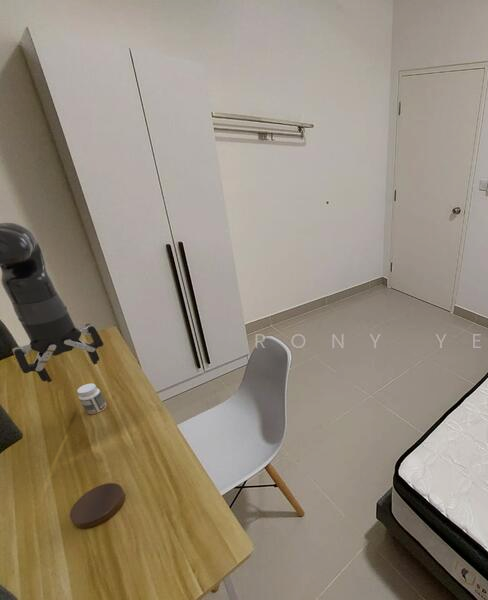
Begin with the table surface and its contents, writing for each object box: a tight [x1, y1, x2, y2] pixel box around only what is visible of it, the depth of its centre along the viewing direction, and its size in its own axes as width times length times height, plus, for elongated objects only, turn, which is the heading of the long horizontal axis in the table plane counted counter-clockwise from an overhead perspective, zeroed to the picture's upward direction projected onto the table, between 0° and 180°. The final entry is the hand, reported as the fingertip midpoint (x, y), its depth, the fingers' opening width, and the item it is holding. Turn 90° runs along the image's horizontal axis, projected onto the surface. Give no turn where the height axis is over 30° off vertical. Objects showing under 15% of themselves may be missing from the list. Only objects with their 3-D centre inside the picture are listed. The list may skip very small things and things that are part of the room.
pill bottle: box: [76, 383, 108, 415], centre depth 97 cm, size 5×5×8 cm
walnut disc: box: [69, 482, 126, 530], centre depth 74 cm, size 9×9×2 cm
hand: (72, 371), depth 80 cm, fingers open, 8 cm apart
